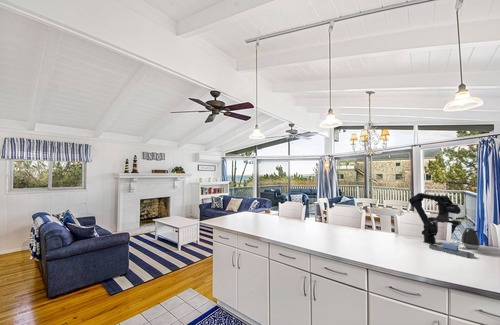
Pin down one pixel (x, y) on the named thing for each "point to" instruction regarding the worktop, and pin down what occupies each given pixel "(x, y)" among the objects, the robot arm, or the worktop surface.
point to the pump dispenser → (470, 238)
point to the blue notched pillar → (450, 246)
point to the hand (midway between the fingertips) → (444, 232)
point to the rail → (450, 251)
